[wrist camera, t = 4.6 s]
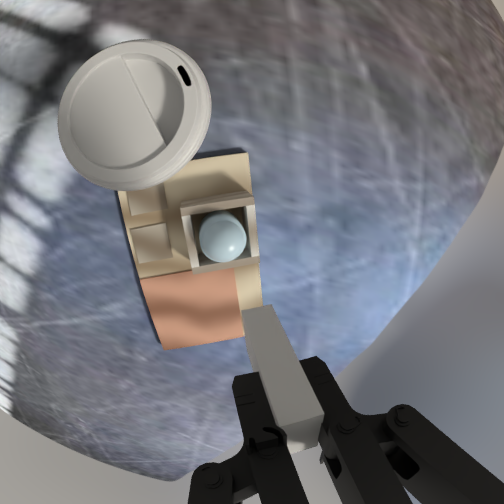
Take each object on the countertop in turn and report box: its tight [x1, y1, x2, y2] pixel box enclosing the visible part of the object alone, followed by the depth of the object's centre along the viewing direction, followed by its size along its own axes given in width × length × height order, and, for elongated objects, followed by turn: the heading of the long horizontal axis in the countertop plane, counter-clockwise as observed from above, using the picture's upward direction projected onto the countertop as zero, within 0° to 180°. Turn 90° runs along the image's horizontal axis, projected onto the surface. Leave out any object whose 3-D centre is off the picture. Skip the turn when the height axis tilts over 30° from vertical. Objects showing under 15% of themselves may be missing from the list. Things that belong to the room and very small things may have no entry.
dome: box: [199, 210, 246, 262], centre depth 27 cm, size 4×4×5 cm
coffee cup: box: [58, 39, 211, 191], centre depth 19 cm, size 10×10×15 cm
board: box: [118, 152, 263, 350], centre depth 30 cm, size 23×14×4 cm, turn 5°
